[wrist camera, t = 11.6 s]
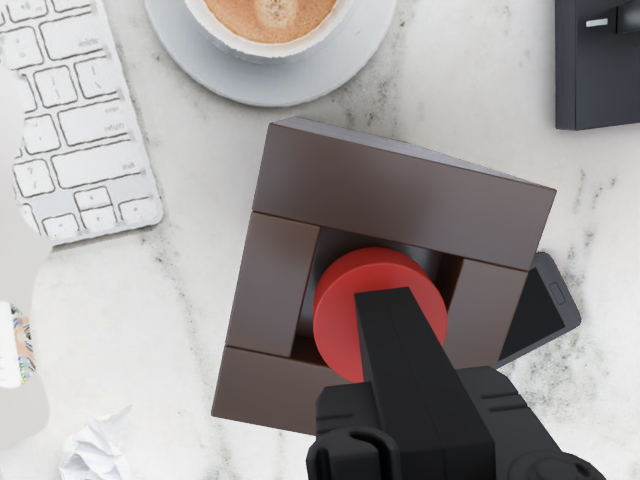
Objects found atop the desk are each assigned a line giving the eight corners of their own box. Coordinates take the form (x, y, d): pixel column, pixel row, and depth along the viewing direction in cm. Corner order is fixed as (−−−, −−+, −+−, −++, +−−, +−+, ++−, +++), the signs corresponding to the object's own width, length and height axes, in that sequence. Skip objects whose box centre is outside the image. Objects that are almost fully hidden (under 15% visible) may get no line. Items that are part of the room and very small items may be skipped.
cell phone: (581, 319, 42) (585, 323, 42) (434, 396, 44) (436, 400, 43) (545, 247, 41) (549, 250, 40) (394, 329, 42) (396, 333, 42)
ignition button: (328, 234, 16) (330, 249, 14) (448, 260, 16) (465, 279, 15) (301, 347, 17) (300, 373, 15) (415, 370, 17) (427, 399, 15)
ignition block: (294, 116, 38) (269, 122, 15) (408, 143, 39) (558, 190, 15) (268, 241, 40) (209, 416, 17) (376, 264, 41) (462, 464, 18)
